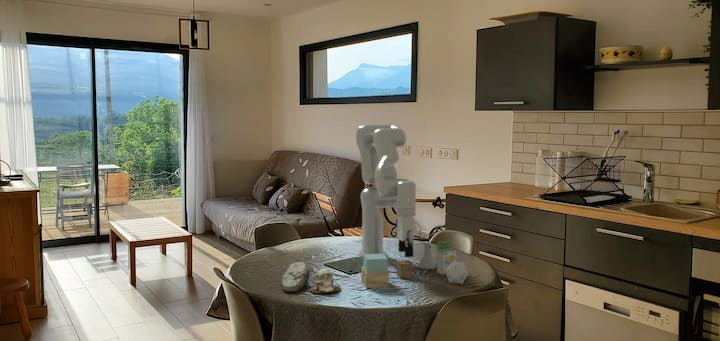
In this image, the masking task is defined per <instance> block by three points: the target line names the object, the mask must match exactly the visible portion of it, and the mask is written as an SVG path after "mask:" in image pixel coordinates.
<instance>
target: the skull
mask: <svg viewBox="0 0 720 341" xmlns="http://www.w3.org/2000/svg"><path fill="white" fill-rule="evenodd" d="M313 279H314V284H315V286H316V287H317V289H309V288H308V289H309V290H308V292H311V293H314V294H315V293H316V294H332V293H336V292H339V291H341V289H342V287H341V286H339V285H334V281H335V279H334V276H333V274H332V272H331V271H330V270H329V269H327V268H321V269H320V270H318V271H317V272H316V273H315V275H314V278H313Z"/></svg>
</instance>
